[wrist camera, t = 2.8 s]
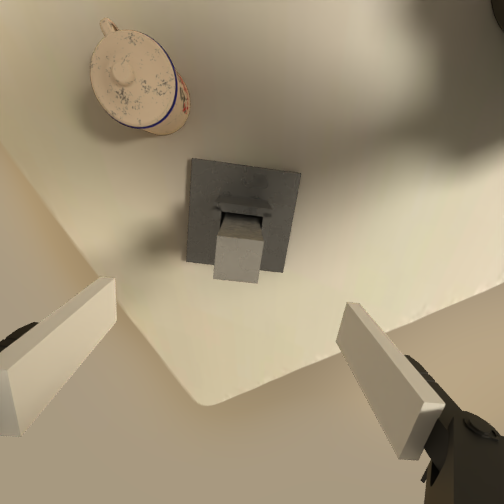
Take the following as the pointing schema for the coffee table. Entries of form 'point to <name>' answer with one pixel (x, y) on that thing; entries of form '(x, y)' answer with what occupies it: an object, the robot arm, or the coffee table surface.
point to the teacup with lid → (138, 81)
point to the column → (238, 249)
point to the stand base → (240, 207)
